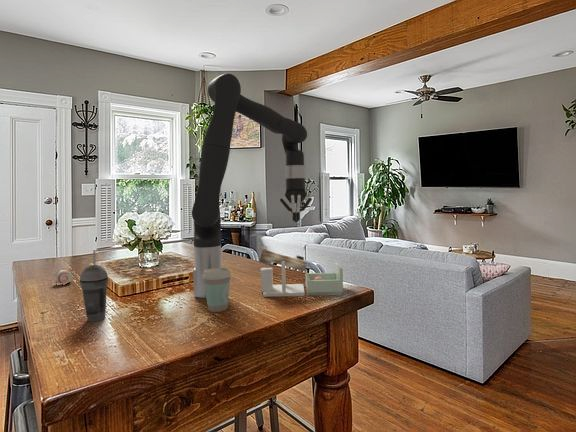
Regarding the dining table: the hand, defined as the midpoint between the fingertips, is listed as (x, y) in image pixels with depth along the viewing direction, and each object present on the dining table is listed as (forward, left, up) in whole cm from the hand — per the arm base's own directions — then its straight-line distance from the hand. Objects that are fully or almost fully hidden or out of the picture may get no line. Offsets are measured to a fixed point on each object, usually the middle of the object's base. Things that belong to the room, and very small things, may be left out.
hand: (296, 222), depth 142 cm
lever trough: (-6, -12, -15) cm, 20 cm away
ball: (+7, -15, -20) cm, 26 cm away
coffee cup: (-25, -33, -24) cm, 48 cm away
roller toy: (-95, +4, -24) cm, 98 cm away
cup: (+9, -15, -23) cm, 29 cm away
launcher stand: (-5, -15, -23) cm, 28 cm away
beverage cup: (-59, -39, -24) cm, 75 cm away
